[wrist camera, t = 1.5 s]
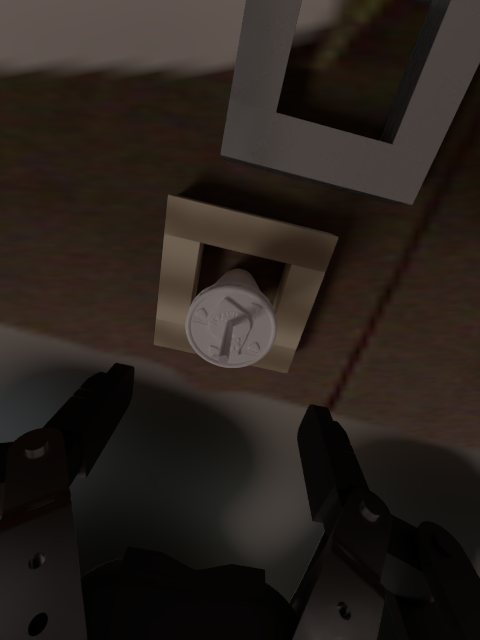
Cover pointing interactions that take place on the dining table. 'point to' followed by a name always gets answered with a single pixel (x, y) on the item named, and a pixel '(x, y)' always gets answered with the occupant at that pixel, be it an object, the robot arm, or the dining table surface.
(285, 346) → the socket block
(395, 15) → the dining table surface
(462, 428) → the dining table surface
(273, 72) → the ring
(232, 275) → the smoothie
